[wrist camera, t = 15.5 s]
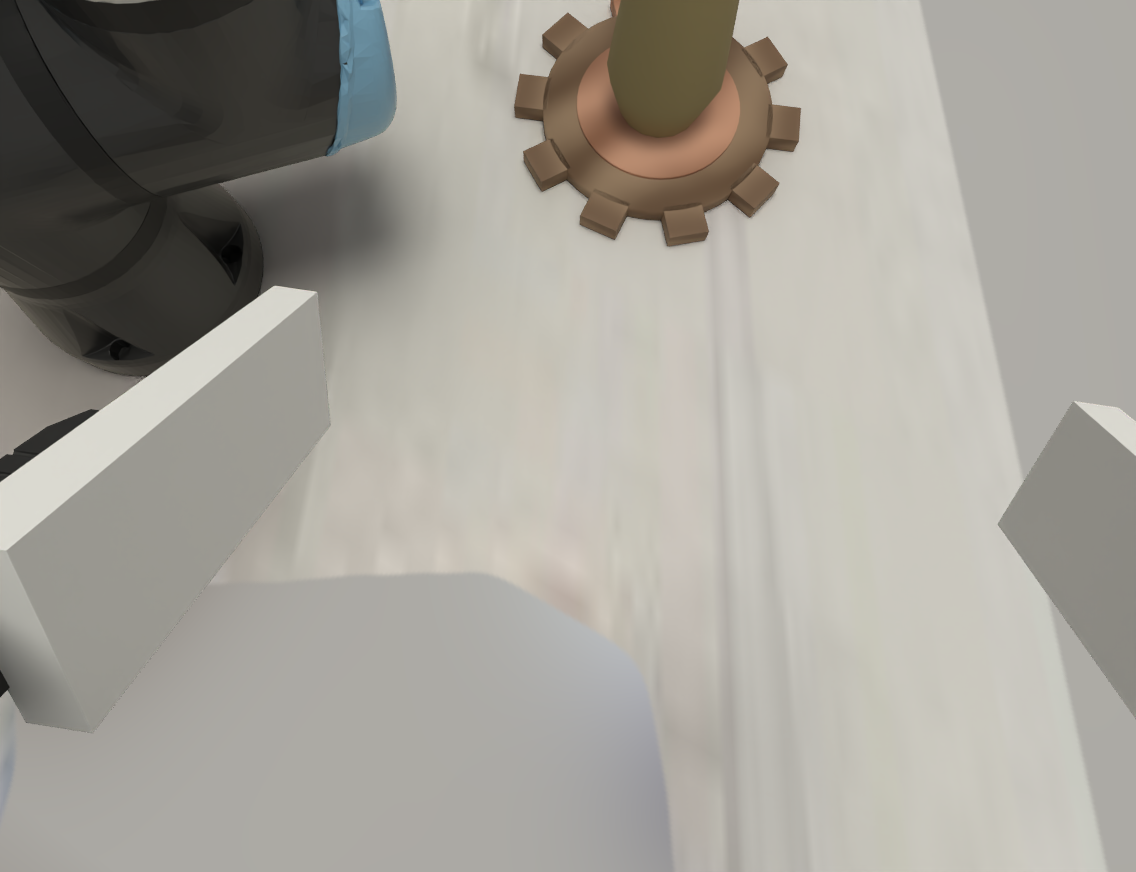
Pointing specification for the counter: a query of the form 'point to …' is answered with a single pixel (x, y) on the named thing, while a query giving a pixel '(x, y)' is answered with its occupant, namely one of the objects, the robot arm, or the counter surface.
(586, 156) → the sprocket disc
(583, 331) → the counter surface
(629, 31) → the squeeze bottle
